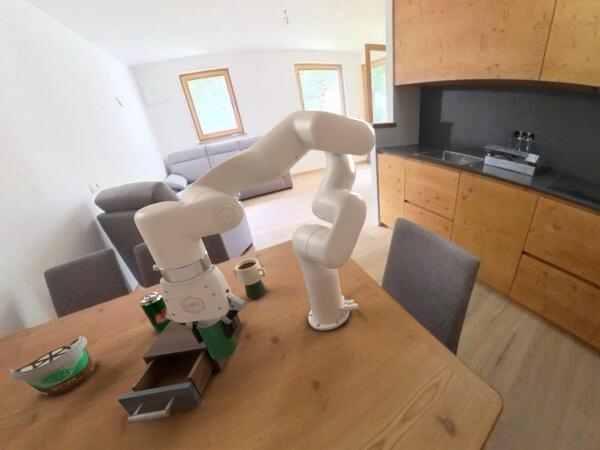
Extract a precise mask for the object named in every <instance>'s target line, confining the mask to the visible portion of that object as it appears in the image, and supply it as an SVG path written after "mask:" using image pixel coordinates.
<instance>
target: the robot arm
mask: <svg viewBox="0 0 600 450" xmlns="http://www.w3.org/2000/svg"><path fill="white" fill-rule="evenodd" d="M375 145H376V133H375V130H374V128H373V127H372V126H371V125H370V124H369V123H368V122H366V121H364V120H362V119H358V118H353V117H349V116H345V115H341V114H336V113H333V112H330V111H323V110H296V111H292V112H291V113H290V114H288V115H287V116H286V117H284V118H283V119H282V120H281V121H279V122H278V123H277V124H276V125H274V127H273V128H271V129H270V130H268V132H266V133H265V134H264V135H263V136H262V137H260V138H259V139H258V140H257V141H256V142H254V143H253V144H252V145H251V146H249V147H247V148H245V149H243V150H242V151H239V152H237V153H236V154H234V155H232V156H230V157H229V158H227V159H224V160H223V161H221V162H219V163H217V164H215V165H214V166H212V167H211V168H210V169H208V170H207V171H206V172H205V173H203V174H202V175H201V176H200V177H198V178H197V179H196V180H195V181H193V182H192V183H191V184H190V185H189V186H188V187H187V188H186V189H185V190H183V193H182V194H181V196H180V199H179V200H178V201H177V200H168V201H167V200H166V201H161V202H156V203H152V204H148V205H146V206H143V207H142V208H140V209H139V210H137V211H136V212H135V213H134V216H133V221H134V223H135V226H136V228H137V230H138V232H139V234H140V236H141V237H142V239H143V241H144V243H145V245H146V247H147V249H148V251H149V253H150V255H151V257H152V260H153V261H154V263H155V264H153V266H152V271H153V272H159V273H160V274H161V276H162V277H161V278H160V280H159V284H160V290H161V295H162V297H163V299H164V302H165V304H166V307H167V309H168V312H167V314H166V316H165V318H167V319H169V320H172V321H175V322H177V323H179V324H181V325H184V326H186V329H188V330H191V331H192V333H193V335H194V337H195V338H196V340H197V342H198V343H202V342H203V339H202V337H201V335H200V333H199V332H198V330H197V328H196V324H197V322H198V321H200V320H207V319H213V318H219V317H220V319H221V320H222V321H223V322H224V324H223V328H224V330H225V332H226V334H227V337H228V338H229V339H230V338H233V336H234V334H235V332H236V331H237V328H238V326H237V323H236V321H235V318H234V317H235V316H236V315H237V314H239V313H240V312H241V311H242V310H243V309H244V307H245V306H246V303H247V302H246V301H245V300H243V299H242V298H240V297H238V296H236V295H234V294H233V292H232V290H231V287H230V285H229V283H228V281H227V279H226V278H225V276H224V275H223V273H222V272H221V270H220V269H219V267H217V265H216V264H214V263H213V264H212V262H211V259H210V257H209V254H208V251H207V249H206V246H205V244H204V241H203V239H202V238H205V237H209V236H214V235H218V234H219V235H220V234H225V233H227V232H230V231H232V230H234V229H236V228H237V227H238V226H240V224H241V223H242V222H243V220H244V218H245V208H244V206H243V203H241V202H240V200H239V199H237V198H236V197H235V196H236V195H238V194H239V193H240V192H242V191H244V190H246V189H247V188H250V187H252V186H255V185H259V184H263V183H264V184H265V183H268V182H272V181H275V180H279V179H281V178H283V177H285V175H286V174H287V173H288V172H289V171H290V170H291V169H292V168H294V166H295V165H296V164H297V163H299V161H301V160H302V159H303V158H304V157H305V156H306V155H307V154H308V153H309V152H310V151H318V152H323V153H324V155H325V156H324V157H325V161H326V166H325V169H324V173H323V175H322V178H321V180H320V182H319V185H318V188H317V190H316V192H315V195H314V197H313V200H312V203H311V212H312V214H313V216H314V217H316V218H317V219H319V220H321V221H323V222H326V223H329V224H331V226H330V227H327V226H325V225H322V224H319V223H317V222H316V223H315V222H305V223H302V224H300V225H299V226H297V227H296V228H295V230H294V231H293V233H292V237H291V246H292V249H293V253H294V255H295V257H296V259H297V261H298V264H299V266H300V269H301V273H302V277H303V282H304V285H305V289H306V293H307V297H308V301H309V306H310V311H309V312H308V315H307V319H308V324H309V325H310V327H311V328H313V329H314V330H318V331H330V330H334V329H337V328H338V327H340V326H341V325H343V324H344V323H345V322H346V321H347V319H348V318H349V317H350V312H351V311H359V304H358V303H355V299H349V300H347V299H345V295H342V290H341V284H340V279H339V272H338V271H339V270H338V269H341V268H342V267H344V266H345V265H346V264H347V263H348V262H349V261H350V258H351V257H352V254H353V252H354V250H355V247H356V245H357V243H358V240H359V238H360V235H361V232H362V229H363V227H364V224H365V222H366V218H367V209H368V208H367V203H366V201H365V199H364V198H363V197H362V195H360V194H359V193H357V192H353V191H352V190H353V187H354V184H355V182H356V178H357V168H356V164H355V161H354V158H353V156H358V157H363V156H366V155H368V154H369V153H371V152H372V151H373V149H374V147H375ZM229 304H231V305H233V306H234V308H233V309H232V308H231V307H230V306H229ZM227 314H228V315H227Z"/></svg>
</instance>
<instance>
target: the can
mask: <svg viewBox="0 0 600 450" xmlns="http://www.w3.org/2000/svg"><path fill="white" fill-rule="evenodd" d="M223 324H224V322H223V321H222V320H221V319H220V317H219V318H213V319H207V320H200V321H198V322H197V324H196V328H197V330H198V332H199V333H200V335H201V337H202V339H203V341H204V343H205V345H206V347H207V349H208V351H209V353H210V355H211V357H212V358H213V359H215V360H220V359H224V358H226V357H227V358H228V357H230V356H231V355H233V353H234V352H235V351H236V350H237V349H238V342H237V338H236V339H235V337H234V336H233V338H230V339H229V338H228V337H227V334H226V332H225V330H224V328H223Z"/></svg>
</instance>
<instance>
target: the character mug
mask: <svg viewBox="0 0 600 450" xmlns="http://www.w3.org/2000/svg"><path fill="white" fill-rule="evenodd" d="M232 273H233V276H234V277H235V278H238V280H239V283H240V284H241V285H242V286H244V290H245V294H246V298H247V299H249V300H256V299H259V298H261V297H263V296H264V295H265V294H266V292H267V288H266V286H265V285H264V283H263V281H262V277H266V276H267V272H266V269H265V267H261V265H260V263H259V260H258V259H257V258H254V257H252V258H251V257H250V258H246V259H243V260H241V261H239V262H238V263H236V265H235V266H234V268H232Z"/></svg>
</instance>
